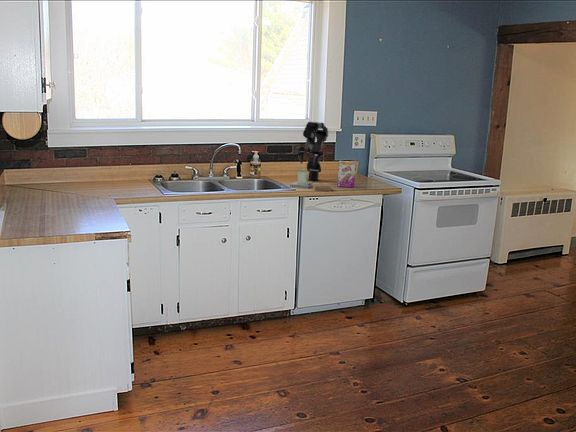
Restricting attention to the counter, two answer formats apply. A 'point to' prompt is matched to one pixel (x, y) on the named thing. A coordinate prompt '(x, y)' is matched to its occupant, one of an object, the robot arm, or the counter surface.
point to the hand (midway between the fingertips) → (307, 164)
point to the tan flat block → (321, 187)
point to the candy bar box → (346, 174)
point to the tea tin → (302, 176)
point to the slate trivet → (302, 185)
